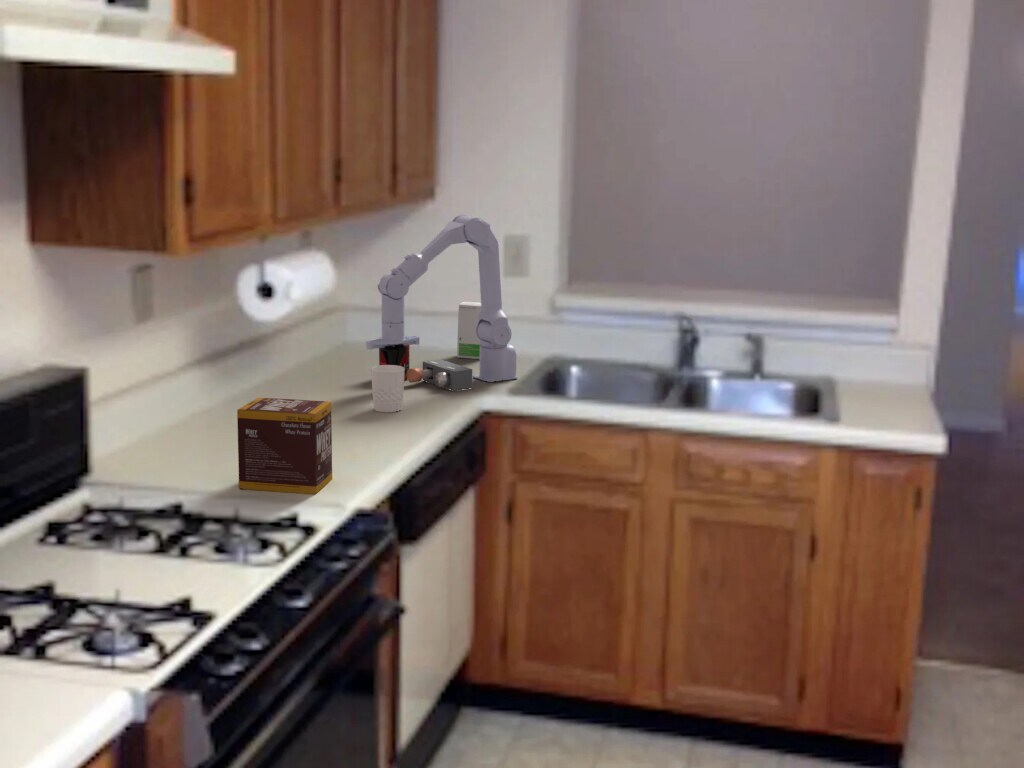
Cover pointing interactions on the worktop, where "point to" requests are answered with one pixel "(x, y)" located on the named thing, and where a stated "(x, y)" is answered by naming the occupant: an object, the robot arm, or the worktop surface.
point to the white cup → (388, 387)
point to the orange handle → (418, 374)
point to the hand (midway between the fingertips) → (393, 374)
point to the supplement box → (285, 445)
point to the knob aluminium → (442, 379)
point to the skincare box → (468, 330)
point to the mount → (458, 374)
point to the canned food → (404, 360)
